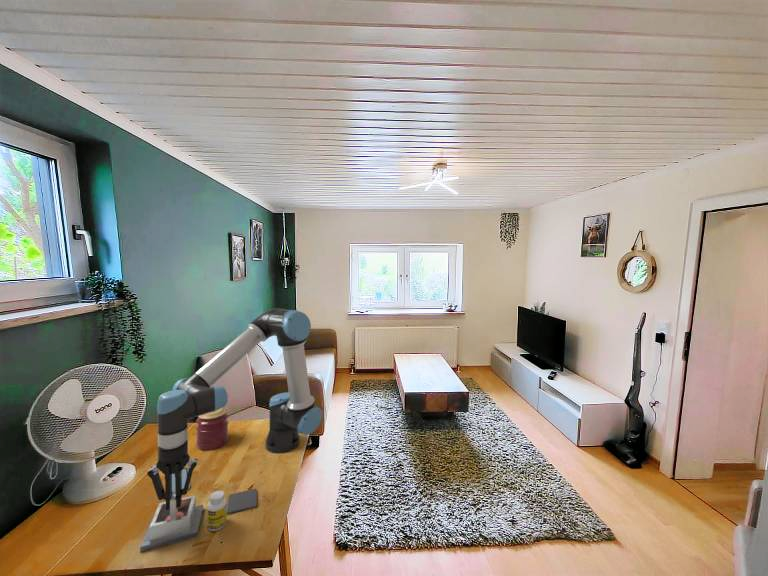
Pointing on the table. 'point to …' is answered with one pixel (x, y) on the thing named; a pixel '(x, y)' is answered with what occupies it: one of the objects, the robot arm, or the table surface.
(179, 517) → the breaker button
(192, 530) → the grey open box
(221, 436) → the canister
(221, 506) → the supplement bottle
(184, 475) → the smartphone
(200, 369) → the robot arm
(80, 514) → the table surface
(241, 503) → the gray square plate
